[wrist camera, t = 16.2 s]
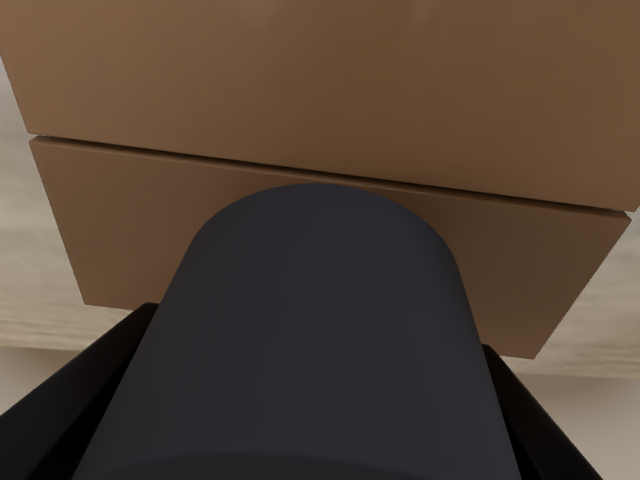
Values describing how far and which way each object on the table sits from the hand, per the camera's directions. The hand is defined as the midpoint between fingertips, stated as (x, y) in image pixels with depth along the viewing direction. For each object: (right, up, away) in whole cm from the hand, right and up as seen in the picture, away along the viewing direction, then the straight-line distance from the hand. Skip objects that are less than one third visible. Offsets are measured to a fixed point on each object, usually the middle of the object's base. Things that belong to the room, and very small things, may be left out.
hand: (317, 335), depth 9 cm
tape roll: (0, +1, +1) cm, 1 cm away
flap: (+1, +6, -1) cm, 6 cm away
